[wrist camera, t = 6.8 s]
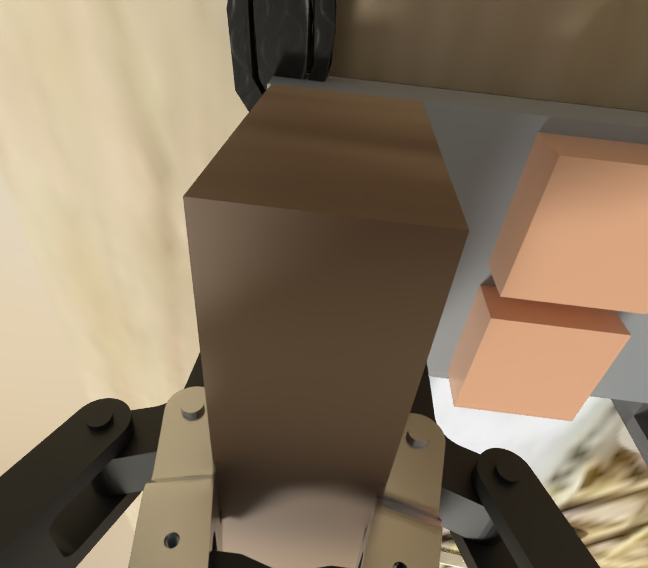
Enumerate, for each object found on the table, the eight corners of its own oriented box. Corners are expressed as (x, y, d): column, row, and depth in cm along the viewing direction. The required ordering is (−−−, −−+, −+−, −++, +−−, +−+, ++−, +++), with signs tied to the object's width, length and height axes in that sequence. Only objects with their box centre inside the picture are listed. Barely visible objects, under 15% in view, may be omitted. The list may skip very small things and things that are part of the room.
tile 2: (480, 285, 17) (490, 318, 16) (607, 300, 17) (631, 335, 16) (447, 370, 20) (454, 406, 19) (556, 384, 20) (571, 421, 19)
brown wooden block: (271, 84, 10) (183, 197, 5) (422, 101, 10) (469, 230, 5) (265, 440, 19) (229, 609, 14) (348, 450, 19) (341, 623, 14)
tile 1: (537, 131, 14) (559, 155, 12) (699, 150, 14) (742, 176, 12) (487, 264, 17) (500, 296, 15) (620, 280, 17) (646, 314, 15)
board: (277, 70, 15) (267, 83, 14) (807, 130, 15) (859, 151, 13) (272, 327, 22) (264, 355, 21) (628, 371, 22) (648, 403, 21)
